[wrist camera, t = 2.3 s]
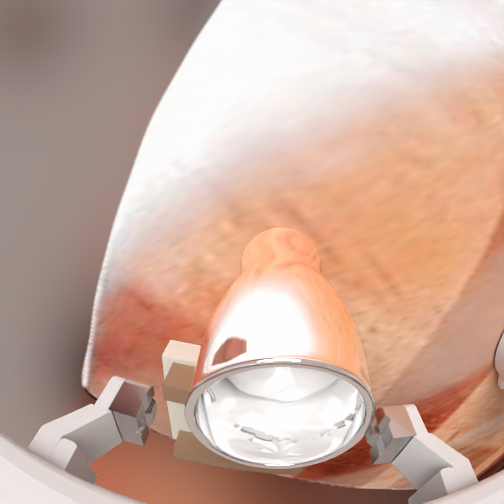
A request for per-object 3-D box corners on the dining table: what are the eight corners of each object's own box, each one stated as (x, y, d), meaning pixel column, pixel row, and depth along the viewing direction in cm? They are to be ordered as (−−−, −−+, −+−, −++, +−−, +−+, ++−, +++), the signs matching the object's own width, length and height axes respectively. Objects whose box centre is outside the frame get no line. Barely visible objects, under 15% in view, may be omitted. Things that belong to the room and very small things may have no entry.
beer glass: (261, 316, 24) (240, 480, 10) (219, 245, 22) (137, 386, 8) (338, 283, 23) (395, 441, 8) (302, 204, 21) (350, 314, 7)
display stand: (338, 361, 25) (348, 403, 20) (305, 440, 30) (307, 476, 25) (170, 339, 26) (150, 377, 21) (178, 423, 31) (166, 457, 25)
